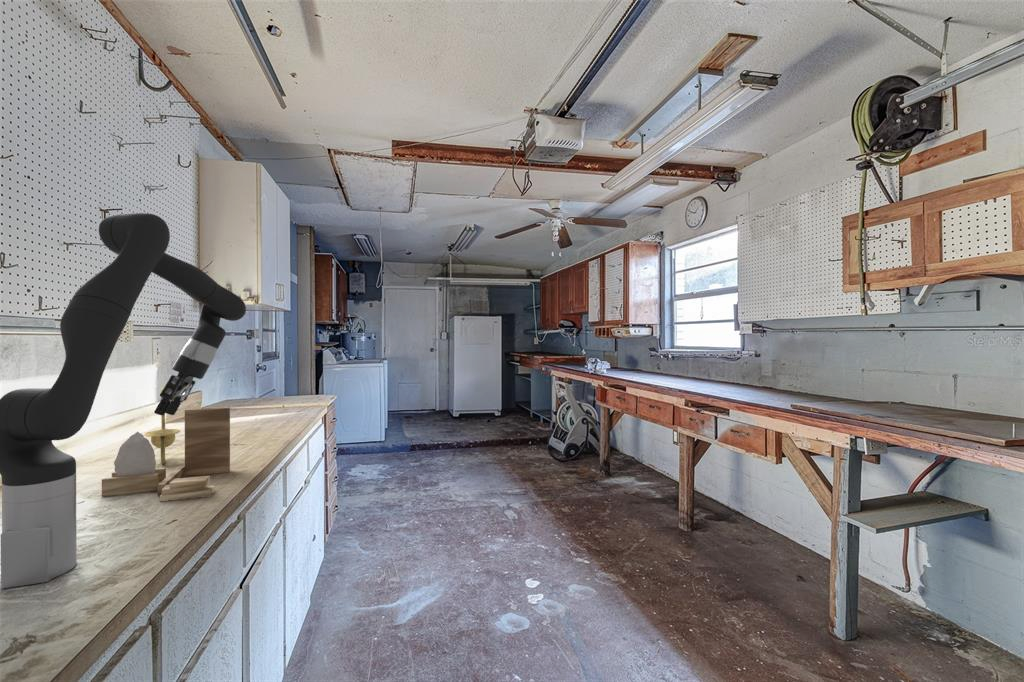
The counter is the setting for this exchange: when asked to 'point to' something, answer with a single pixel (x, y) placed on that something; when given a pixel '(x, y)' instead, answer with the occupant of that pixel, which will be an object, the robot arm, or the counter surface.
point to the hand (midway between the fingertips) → (164, 414)
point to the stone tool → (135, 457)
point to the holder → (132, 483)
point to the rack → (204, 444)
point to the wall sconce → (162, 437)
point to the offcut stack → (187, 488)
